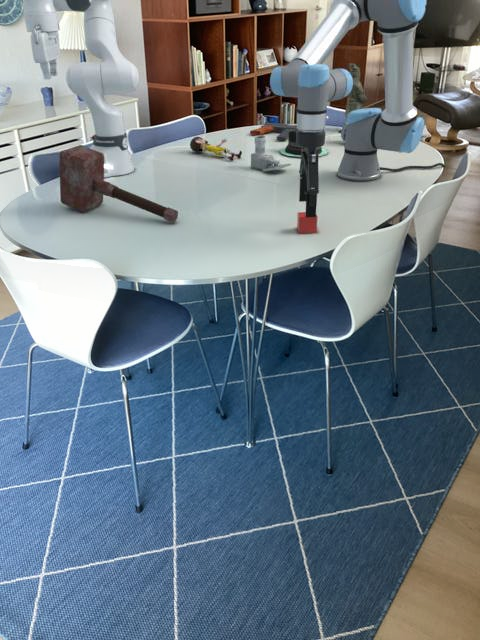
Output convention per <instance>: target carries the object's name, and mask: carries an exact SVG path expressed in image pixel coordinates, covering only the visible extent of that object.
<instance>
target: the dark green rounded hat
mask: <svg viewBox="0 0 480 640" xmlns="http://www.w3.org/2000/svg"><path fill="white" fill-rule="evenodd" d="M298 130H299V129H294V130H291V131H289V137H288V139H287V140H288V141H287V142H288V143H287V145H286V146H285V147H283V148H281V149H280V150H279V153H280V154H282V155H285V156H289V157H296V158H297V157H298V158H301V153H302V147H300V146H298V145H297V144H296V132H297V131H298ZM316 151H317V153H318V155H319V157H323V156H326V155H327V154H328V150H326V149H325V148H323V147H317V148H316Z"/></svg>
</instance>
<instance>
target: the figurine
mask: <svg viewBox="0 0 480 640" xmlns="http://www.w3.org/2000/svg"><path fill="white" fill-rule="evenodd" d="M227 141H228V139H227V138H222V139H221V142H220V143H219V144H217V145H213V144H210V143H209V141H208V140H206V139H203V137H201V136H195V137H193V138H192V139H191V140H190V143H189V146H190V149H191V150H192V152H194V153H205V152H209V153H210V152H211V153H214V154H215V155H216V156H218V157H219V158H222V157H223V158H225V159H228V160H229V161H231V162H233V161H234V158H237V159H241V158H242V154H243V151H242V150H239V153H235V152H233V151H231V150H230V149H228V148H227V147H221V146H222V145H223V144H225V143H226V142H227ZM228 154H229V155H228Z"/></svg>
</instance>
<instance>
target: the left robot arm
mask: <svg viewBox="0 0 480 640" xmlns="http://www.w3.org/2000/svg"><path fill="white" fill-rule="evenodd" d="M21 1H22V4H23V12H22V13H23V18H24V23H25V28H26V33H30V43H31V51H32V58H33V60H34V63H36V64H39V67H40V70H41V71H42V75H43V76H42V77H43V80H51V79H52V77H57V76H58V62H57V59H60V57H61V43H60V35H59V31H60V23H59V22H58V16H57V15H58V14H57V12H79V13H80V12H81V13H83V31H84V33H83V34H84V46H85V48H86V50H87V51H88V53H90V54H91V55H92V56H94V57H95V58H98V59H100V60H101V61H82V62H78V63H74V64H70V65H69V66H68V67H67V70H66V72H65V81H66V84H67V87H68V89H69V90H70V91H71V92H72V93H73V94H75V95H76V96H77V97H79V98H80V99H81V100H82V101H83V103H85V105H86V106H87V108H88V109H89V111H90V114H91V118H92V122H93V126H94V133H95V134H93V135H92V136H90V137H89V141H92V145H91V146H90V147H89V148H90V149H93V150H95V151H98V152H101V153H102V154H103V155H104V179H105V178H111V177H116V176H124V175H128V174H130V173H133V172H134V171H135V168H134V165H133V164H132V160H131V156H130V152H129V142H128V135H127V132H126V126H125V119H124V118H125V117H124V112H123V111H122V110H121V108H120V107H118V106H116V105H114V104H113V103H110V102H108V101H107V100H106V99H105V97H104V96H106V95H107V96H108V95H125V94H128V93H132V92H135V91H136V90H137V89H138V87H139V84H140V79H141V78H140V73H139V70H138V68H137V66H136V65H135V64H134V63H133V62H131V61H130V60H128V59H127V58H126V57H125V56H124V55H123V53H122V52H121V51H120V49H119V46H118V41H117V34H116V33H117V32H116V21H115V16H114V11H113V7H112V3H111V1H110V0H21Z"/></svg>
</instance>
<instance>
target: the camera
mask: <svg viewBox="0 0 480 640" xmlns="http://www.w3.org/2000/svg"><path fill="white" fill-rule="evenodd" d="M266 144H267V136H266V135H263V134H262V135H259V136H256V135H254V145H255V146H254V153H251V154H250V168H252V169H257V170H261V171H262V172H263V173H265V172H273V171H278V170H281V169H284V168H287V167H290V166H291V165H292V163H284V164H283V163H282V164H281V163H280V160H277V159H274V156H273V155H270V154H268V153H267V154H266Z"/></svg>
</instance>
